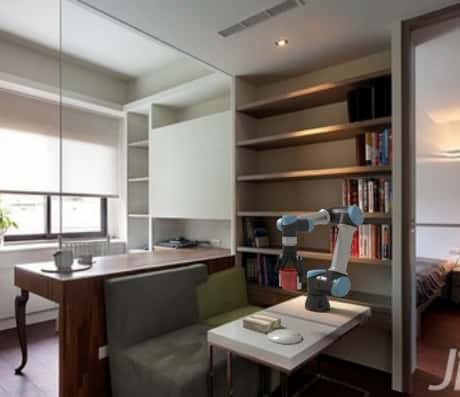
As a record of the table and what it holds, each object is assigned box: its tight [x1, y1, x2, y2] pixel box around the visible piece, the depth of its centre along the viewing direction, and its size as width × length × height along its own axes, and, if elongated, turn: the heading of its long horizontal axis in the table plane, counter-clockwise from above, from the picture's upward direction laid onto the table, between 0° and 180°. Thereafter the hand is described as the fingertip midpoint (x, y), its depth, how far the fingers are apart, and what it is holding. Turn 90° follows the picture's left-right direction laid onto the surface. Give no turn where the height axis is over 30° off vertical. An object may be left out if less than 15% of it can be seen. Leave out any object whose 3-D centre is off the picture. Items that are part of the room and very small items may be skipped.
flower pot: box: [280, 268, 298, 292], centre depth 178 cm, size 11×11×10 cm
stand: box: [242, 312, 282, 334], centre depth 178 cm, size 14×14×4 cm
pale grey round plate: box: [267, 328, 303, 345], centre depth 163 cm, size 16×16×1 cm
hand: (290, 287), depth 178 cm, fingers closed on flower pot, 10 cm apart
